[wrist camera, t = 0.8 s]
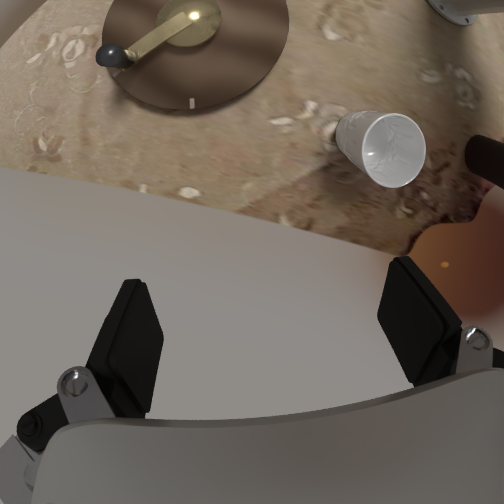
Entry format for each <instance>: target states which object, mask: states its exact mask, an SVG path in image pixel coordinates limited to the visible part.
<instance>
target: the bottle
mask: <svg viewBox="0 0 504 504" xmlns="http://www.w3.org/2000/svg"><path fill="white" fill-rule="evenodd" d="M465 157H466V163H467V166H468V168H469V169H470V170H471V171H472V172H473V173H475V174H477V175H479V176H481V177H483V178H484V179H486V180H488V181H490V182H492V183H494V184H495V185H497V186H499V187H501V188H502V189H504V144H503V143H501V142H498V141H496V140H493V139H490V138H488V137H485V136H482V135H475V136H473V137H472V138H471V139H470V141H469V142H468V144H467V147H466V153H465Z"/></svg>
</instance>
